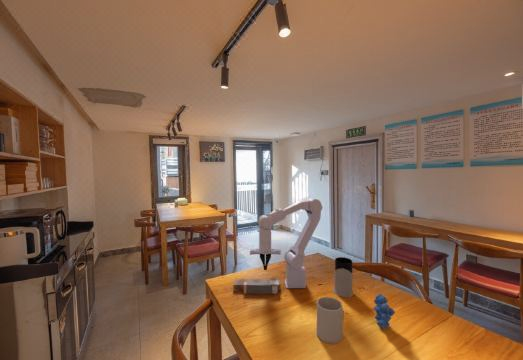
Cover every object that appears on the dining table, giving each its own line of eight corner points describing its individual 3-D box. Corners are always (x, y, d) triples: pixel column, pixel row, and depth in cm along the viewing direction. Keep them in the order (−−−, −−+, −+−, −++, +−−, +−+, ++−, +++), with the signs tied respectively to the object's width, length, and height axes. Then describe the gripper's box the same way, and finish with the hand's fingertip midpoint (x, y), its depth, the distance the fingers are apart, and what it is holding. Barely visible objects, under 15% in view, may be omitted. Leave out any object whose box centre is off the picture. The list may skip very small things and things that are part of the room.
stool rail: (279, 285, 115) (279, 275, 114) (281, 295, 105) (281, 284, 105) (234, 285, 115) (234, 275, 114) (232, 295, 105) (232, 284, 105)
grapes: (401, 340, 77) (401, 304, 76) (379, 337, 78) (379, 302, 78) (389, 318, 88) (389, 287, 88) (370, 316, 90) (370, 285, 89)
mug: (340, 347, 74) (340, 313, 74) (313, 338, 78) (313, 306, 77) (345, 325, 85) (345, 295, 84) (321, 318, 88) (322, 290, 88)
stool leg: (277, 290, 109) (277, 282, 108) (277, 294, 106) (277, 285, 105) (244, 290, 109) (244, 281, 109) (243, 293, 106) (243, 285, 106)
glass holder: (332, 295, 105) (332, 262, 105) (335, 281, 118) (335, 252, 118) (353, 298, 102) (353, 265, 101) (353, 284, 115) (353, 254, 115)
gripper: (249, 243, 106) (249, 272, 107) (281, 243, 106) (281, 272, 107) (250, 239, 113) (250, 266, 114) (280, 239, 113) (280, 266, 114)
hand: (265, 269), depth 111 cm, fingers closed
